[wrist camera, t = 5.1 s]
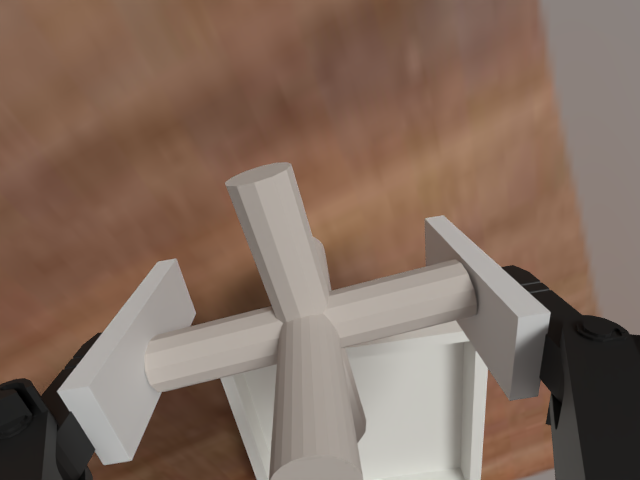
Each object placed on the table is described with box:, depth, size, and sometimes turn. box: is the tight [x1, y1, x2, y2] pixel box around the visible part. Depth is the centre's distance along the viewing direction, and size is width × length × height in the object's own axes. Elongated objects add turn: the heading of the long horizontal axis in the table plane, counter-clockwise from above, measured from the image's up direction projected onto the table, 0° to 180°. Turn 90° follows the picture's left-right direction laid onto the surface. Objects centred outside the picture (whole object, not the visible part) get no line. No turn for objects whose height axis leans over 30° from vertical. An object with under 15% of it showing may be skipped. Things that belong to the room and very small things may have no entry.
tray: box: [220, 320, 488, 480], centre depth 25 cm, size 16×16×2 cm
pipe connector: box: [144, 162, 477, 480], centre depth 11 cm, size 10×10×10 cm
